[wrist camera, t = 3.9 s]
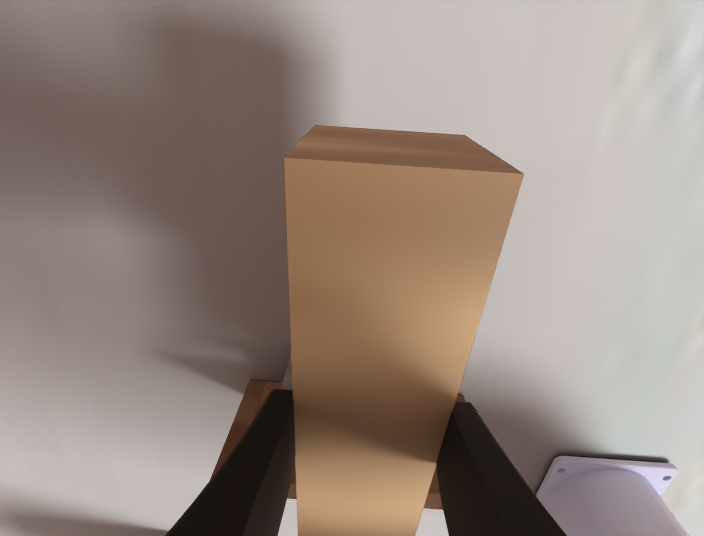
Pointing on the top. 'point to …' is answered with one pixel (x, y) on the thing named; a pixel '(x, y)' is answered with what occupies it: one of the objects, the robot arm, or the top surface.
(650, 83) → the top surface
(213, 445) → the top surface
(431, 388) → the tan wooden bar
